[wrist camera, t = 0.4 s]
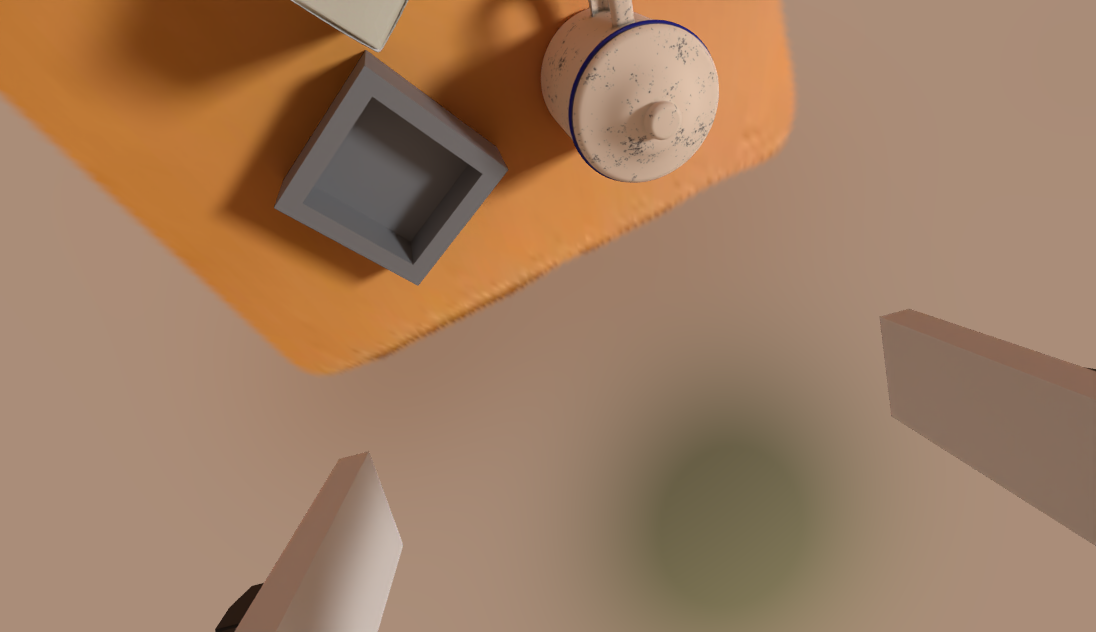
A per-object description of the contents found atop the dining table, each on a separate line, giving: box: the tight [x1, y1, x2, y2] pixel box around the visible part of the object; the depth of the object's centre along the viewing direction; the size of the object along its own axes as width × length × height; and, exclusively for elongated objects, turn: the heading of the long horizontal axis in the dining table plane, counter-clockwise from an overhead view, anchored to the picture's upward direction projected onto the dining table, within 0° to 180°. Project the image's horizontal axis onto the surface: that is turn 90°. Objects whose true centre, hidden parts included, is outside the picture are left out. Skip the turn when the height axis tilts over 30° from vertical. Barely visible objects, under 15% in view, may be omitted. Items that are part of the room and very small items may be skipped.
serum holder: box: [274, 50, 508, 285], centre depth 39 cm, size 10×10×4 cm
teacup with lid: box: [541, 0, 719, 183], centre depth 35 cm, size 12×9×12 cm
